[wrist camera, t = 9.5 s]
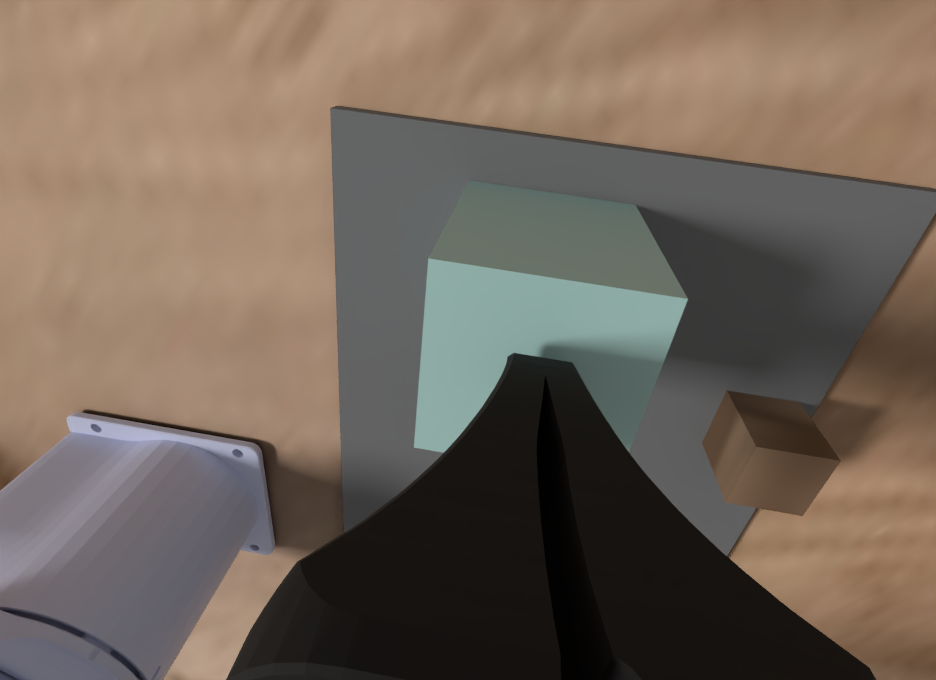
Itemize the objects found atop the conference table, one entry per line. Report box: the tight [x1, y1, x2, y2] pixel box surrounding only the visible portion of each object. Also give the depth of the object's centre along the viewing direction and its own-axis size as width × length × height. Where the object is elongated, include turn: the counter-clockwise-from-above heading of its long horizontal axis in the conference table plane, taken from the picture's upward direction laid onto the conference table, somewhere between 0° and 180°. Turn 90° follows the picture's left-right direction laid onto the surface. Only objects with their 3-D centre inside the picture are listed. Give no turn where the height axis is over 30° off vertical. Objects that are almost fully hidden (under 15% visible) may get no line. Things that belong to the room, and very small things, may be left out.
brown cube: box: [702, 390, 840, 516], centre depth 18 cm, size 3×3×3 cm
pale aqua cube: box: [414, 180, 688, 453], centre depth 14 cm, size 5×5×7 cm
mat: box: [330, 106, 936, 556], centre depth 21 cm, size 18×24×1 cm
